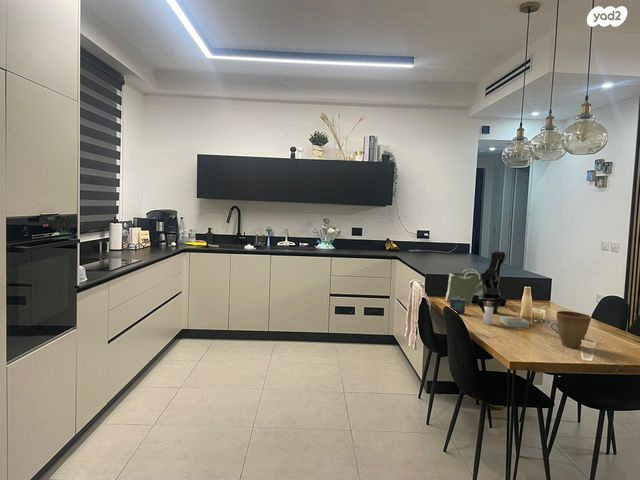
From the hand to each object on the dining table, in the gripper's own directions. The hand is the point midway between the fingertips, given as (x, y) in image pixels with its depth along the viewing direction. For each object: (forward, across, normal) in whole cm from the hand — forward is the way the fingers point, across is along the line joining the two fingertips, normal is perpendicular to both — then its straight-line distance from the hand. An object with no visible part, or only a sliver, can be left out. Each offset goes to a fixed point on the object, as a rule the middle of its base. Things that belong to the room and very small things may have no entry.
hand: (488, 313), depth 259 cm
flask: (-10, -16, +20) cm, 27 cm away
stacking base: (0, +15, +10) cm, 18 cm away
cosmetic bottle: (+4, 0, +6) cm, 7 cm away
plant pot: (+24, +35, -14) cm, 45 cm away
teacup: (+12, +37, -3) cm, 39 cm away
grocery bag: (-37, -5, +47) cm, 60 cm away
